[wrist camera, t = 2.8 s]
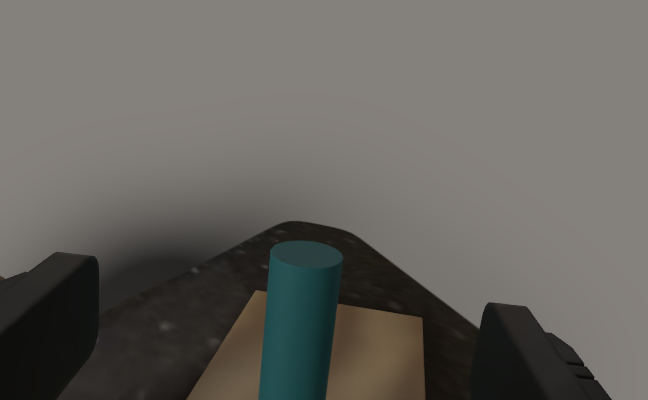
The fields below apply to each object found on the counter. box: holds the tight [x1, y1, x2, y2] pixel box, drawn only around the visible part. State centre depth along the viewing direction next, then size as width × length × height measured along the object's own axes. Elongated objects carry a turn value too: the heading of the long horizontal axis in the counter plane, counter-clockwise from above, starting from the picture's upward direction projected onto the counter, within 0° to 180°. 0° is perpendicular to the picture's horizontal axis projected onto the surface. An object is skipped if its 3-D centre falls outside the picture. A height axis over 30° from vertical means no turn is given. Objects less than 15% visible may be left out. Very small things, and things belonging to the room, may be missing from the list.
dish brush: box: [258, 241, 343, 400], centre depth 25 cm, size 5×5×12 cm
